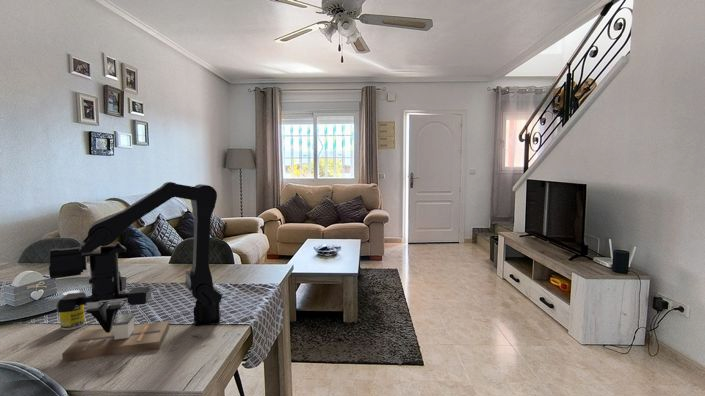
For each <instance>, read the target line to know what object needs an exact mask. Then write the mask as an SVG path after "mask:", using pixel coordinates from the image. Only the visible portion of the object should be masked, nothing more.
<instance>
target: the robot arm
mask: <svg viewBox="0 0 705 396" xmlns="http://www.w3.org/2000/svg"><path fill="white" fill-rule="evenodd" d="M172 198H178V199H184V200H190V203H191V208H192V212H193V215H194V219H193V220H194V224H193V247H192V249H193V250H192V252H193V253H192V265H191V268H190V270H185V271H184V274H185V282H184V286H185V287H186V288H187V291H188V292H189V293H190V295H192V297H194V298H195V300H196V301H195V304H194V306H193V322H195V324H194V326H195V327H199V326H209V325H216V324H220V323H221V316H222V314H221V304H220V303H221V300H222V299H223V295H222V294H221V293H220V292H219V291H218V290H217V289H216V288H215V287H214V284H213V275H212V273H211V269H210V247H211V245H210V244H211V221H212V215H213V212H214V210H215V207H216V204H217V199H218V193H217V190H216V189H215V188H214V187H213V186H212V185H207V184H202V183H201V184H196V185H194V186H192V185H186V184H179V183H176V182H173V181H167V182H164V183H163V184H162V185H161V186H160V187H159V188H156V189H155V190H153V191H152V192H150V193H148V194H146V195H145V196H143V197H142V198H140V199H139V200H137V201H135V202H133V203H132V204H131V205H128V206H127V207H126V208H124V209H122V210H120V211H118V212H115V213H113V214H109V215H107V216H105V217H102V218H100V219H97V220H96V221H93V222H92V223H91V224H90V225H89V226H88V229H87V236H86V237H85V239H84V240H83V241H81V242H80V244H79V246H78V247H77V246H75V247H68V248H51V249H50V250H49V266H48V271H49V272H48V273H49V277H50V280H54V279H55V280H56V279H61V278H69V277H75V276H77V277H78V276H81V275H82V273H84V271H87V257H89V272H90V278H88V284H90V285H91V287H90V288H91V295H89V296H87V294H86V293H85V291H84V292H80V293H71V294H67V295H66V296H65V297H63V298H60V299H59V300H58V301H57V302H56V313H59V314H60V313H61V312H71V311H73V310H74V309H75V308H76V305H84V306H85V305H86V310H85V313H86V314H90V315H91V316H92V317H93V318H94V319H95V320H96V321H97V322H98V324H99V325H100V326H101V329H104V331H105V332H106V333H110V331H111V329H112V328H113V327H114V326H113V323H114V322H115V320H116V316H117V314H118V312H119V310H121V309H122V308H123V306H124V305H125V304H126V303H127V304H129V305H130V306H138V305H145V304H147V303H148V302H149V300H150V299H151V297H152V289H151V288H150V287H149V286H142V287H139V286H138V287H133V288H132V289H131V290H130V292H123V291H124V290H126V289H127V276H126V277H124V276H121V271H120V270H119V259H118V258H119V257H118V256H119V253H125V252H127V248H126V247H125V246H124V245H122V244H121V243H120V242H119V241H116V240H117V239H118V238H119V237H120V236H121V235H123V233H124V232H126V230H127V229H128V228H129V227H130V226H131V225H132V224H134V223H135V222H137V221H139V220H140V219H142V218H143V217H145V216H146V215H148V214H149V213H151V212H152V211H154V210H155V209H158V208H159V207H160V206H162V205H163V204H165V203H167V202H168V201H170V200H171V199H172ZM115 241H116V242H115ZM114 242H115V243H114ZM113 243H114V244H113ZM111 244H112V245H111ZM98 248H100V249H98ZM96 249H97V250H96Z"/></svg>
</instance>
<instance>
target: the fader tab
mask: <svg viewBox="0 0 705 396" xmlns="http://www.w3.org/2000/svg"><path fill="white" fill-rule="evenodd" d="M134 318H135V314H134V313H127V314H119V315H118V317H117V318H115V320H114V323H113V326H112V327H114V339H115V340H116V339H124V338H129V336H130V335H131V333H132V332H133V330H134V325H135V321H134V320H135V319H134Z"/></svg>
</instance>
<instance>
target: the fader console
mask: <svg viewBox="0 0 705 396" xmlns="http://www.w3.org/2000/svg"><path fill="white" fill-rule="evenodd" d="M169 330H170V321H168V320H167V321H159V322H158V321H157V322H149V323H142V324H134V330H133V332H132V333H131V335H130V336H129V338H124V339H116V340H115V339H114V326H112V329H111V331H110V333H106V332H105V331H104V329H103V328H97V329H87V330H83V332H81V334H80V335H79V336H78V337H77V338H76V339H74V340H73V342H72V343H71V344H70V345H69V346H68V347H67V348H66V349H65V350H64V351H63V352H62V355H61V356H62V363H65V362H67V363H68V362H72V361H73V362H74V361H80V360H82V361H83V360H88V359H95V358H97V359H98V358H103V357H104V358H105V357H110V356H111V357H112V356H118V355H126V354H134V353H143V352H149V351H150V352H151V351H157V350H160V349H161V347H162V345H163V343H164V341H165V339H166V336H167V334H168V332H169Z"/></svg>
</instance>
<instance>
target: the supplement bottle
mask: <svg viewBox="0 0 705 396" xmlns="http://www.w3.org/2000/svg"><path fill="white" fill-rule="evenodd" d="M71 293H81V290H78V289H76V290H75V289H74V290H68V291H65V292H62V294H61V297H62V298H63V297H65V296H66V295H67V294H71ZM62 298H61V299H62ZM85 316H86V315H85V305H76V308H75V309H74V310H73V311H71V312H61V313H59V321H60V322H59V323H60V329H61V330H63V331H72V330H77V329H79V328H82V327H83V326H85V323H86V318H85Z"/></svg>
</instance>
